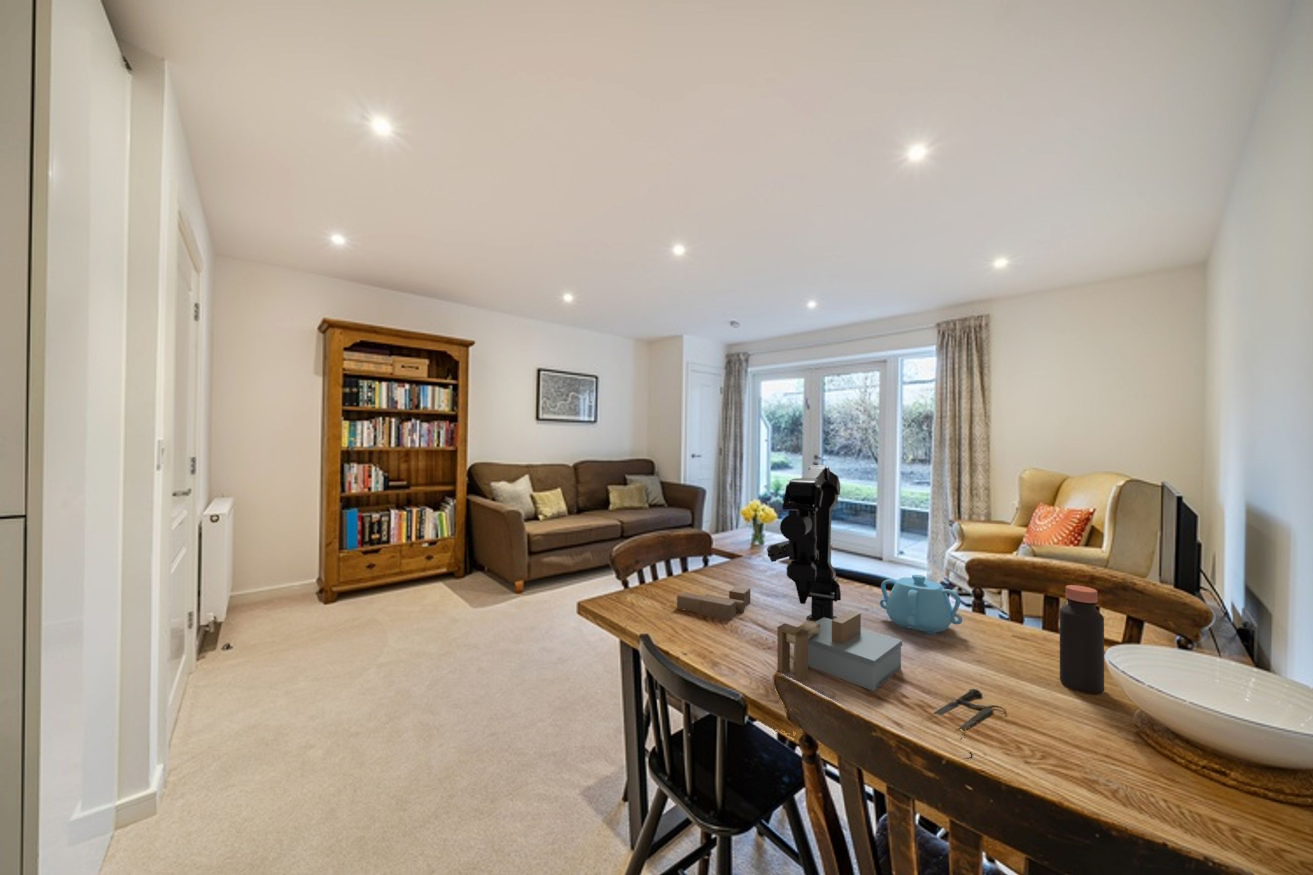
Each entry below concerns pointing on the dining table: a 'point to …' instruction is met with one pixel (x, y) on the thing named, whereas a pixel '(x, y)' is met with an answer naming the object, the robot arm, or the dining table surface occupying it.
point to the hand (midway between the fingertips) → (803, 596)
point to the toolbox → (831, 661)
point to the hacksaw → (963, 700)
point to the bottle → (1082, 641)
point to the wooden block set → (716, 603)
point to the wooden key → (810, 626)
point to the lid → (853, 639)
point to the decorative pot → (920, 604)
